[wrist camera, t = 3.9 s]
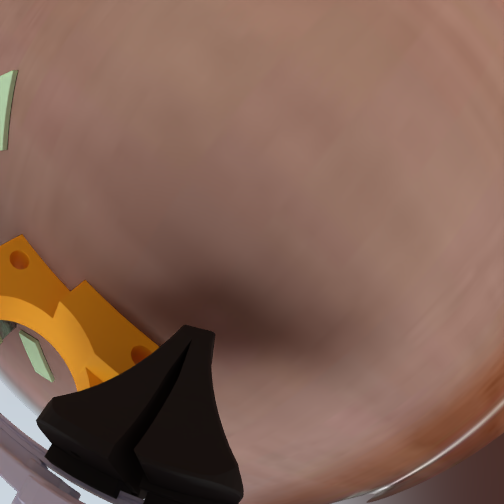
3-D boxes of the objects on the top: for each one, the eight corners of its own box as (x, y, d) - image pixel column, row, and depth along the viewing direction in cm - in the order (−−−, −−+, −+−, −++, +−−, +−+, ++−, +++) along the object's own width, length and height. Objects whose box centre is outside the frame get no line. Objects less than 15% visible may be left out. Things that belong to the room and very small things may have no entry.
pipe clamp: (175, 356, 14) (130, 453, 8) (142, 382, 15) (102, 459, 9) (29, 212, 12) (-55, 255, 6) (17, 259, 13) (-48, 305, 7)
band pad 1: (-9, 150, 10) (-13, 151, 10) (0, 78, 8) (-4, 78, 8) (7, 149, 10) (2, 150, 10) (17, 70, 8) (13, 70, 8)
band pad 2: (37, 369, 18) (35, 371, 17) (21, 330, 16) (18, 332, 16) (54, 379, 18) (52, 382, 17) (37, 340, 16) (35, 343, 15)
